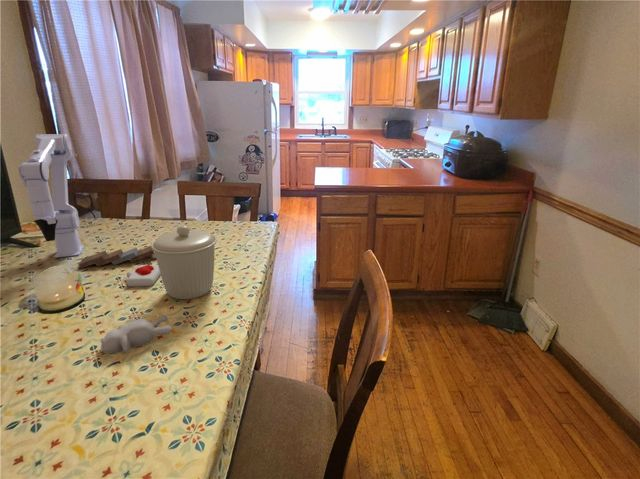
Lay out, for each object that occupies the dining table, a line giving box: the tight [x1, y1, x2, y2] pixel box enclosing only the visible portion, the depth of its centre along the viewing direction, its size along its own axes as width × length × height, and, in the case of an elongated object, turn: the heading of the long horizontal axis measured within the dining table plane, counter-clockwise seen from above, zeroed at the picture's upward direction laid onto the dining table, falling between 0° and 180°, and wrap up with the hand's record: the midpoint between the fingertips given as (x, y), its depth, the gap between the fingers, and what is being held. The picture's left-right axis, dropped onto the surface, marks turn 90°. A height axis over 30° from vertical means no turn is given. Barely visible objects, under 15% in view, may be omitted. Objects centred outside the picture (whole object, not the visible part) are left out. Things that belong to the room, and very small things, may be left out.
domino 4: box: [138, 252, 157, 263], centre depth 140 cm, size 2×5×8 cm
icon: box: [125, 264, 161, 288], centre depth 123 cm, size 12×4×10 cm
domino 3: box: [129, 245, 155, 263], centre depth 138 cm, size 2×5×8 cm
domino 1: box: [78, 250, 108, 269], centre depth 132 cm, size 2×5×8 cm
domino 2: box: [94, 248, 124, 268], centre depth 134 cm, size 2×5×8 cm
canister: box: [150, 224, 218, 301], centre depth 112 cm, size 18×18×21 cm
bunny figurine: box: [100, 314, 173, 355], centre depth 91 cm, size 10×5×15 cm
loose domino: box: [111, 247, 139, 266], centre depth 135 cm, size 2×5×8 cm
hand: (50, 240), depth 126 cm, fingers closed
